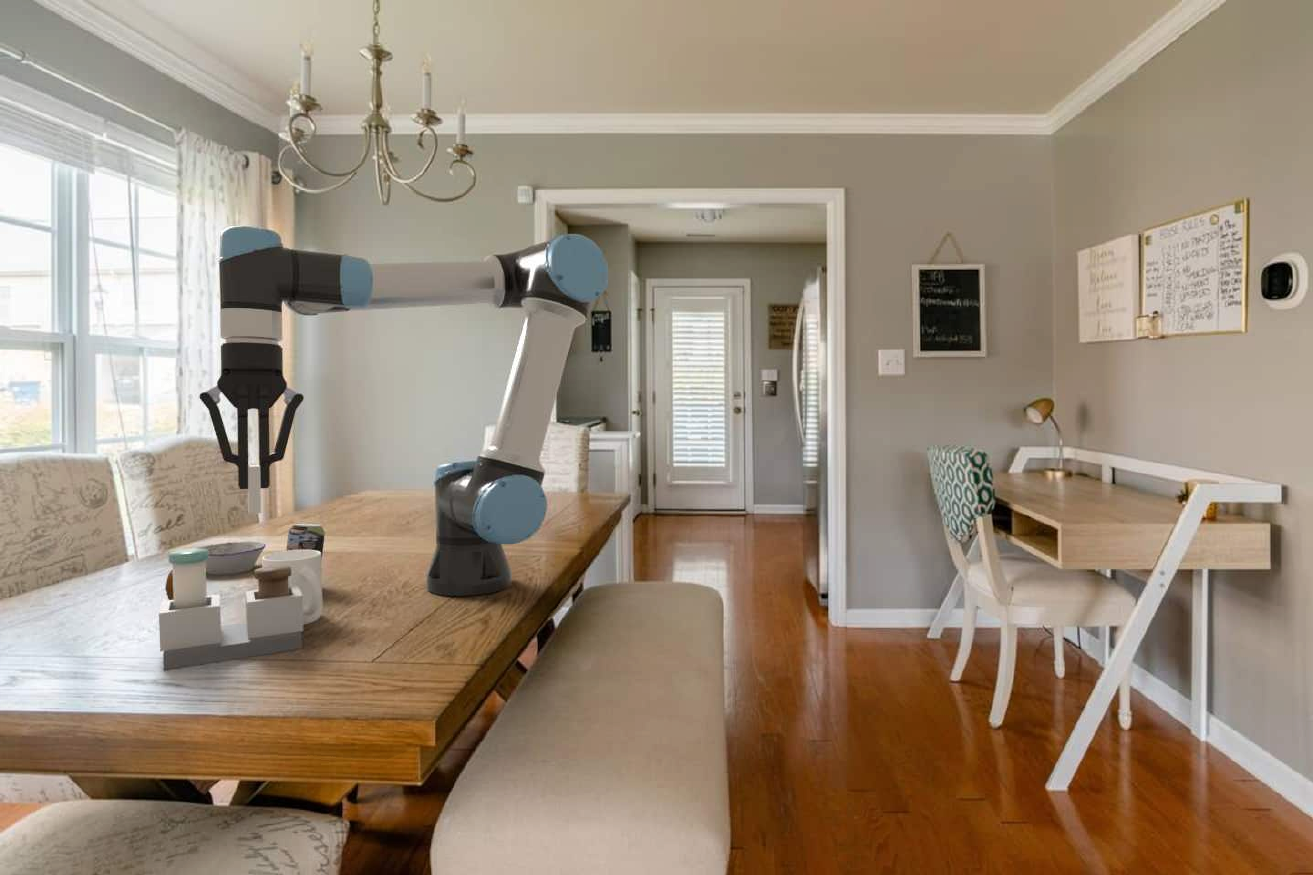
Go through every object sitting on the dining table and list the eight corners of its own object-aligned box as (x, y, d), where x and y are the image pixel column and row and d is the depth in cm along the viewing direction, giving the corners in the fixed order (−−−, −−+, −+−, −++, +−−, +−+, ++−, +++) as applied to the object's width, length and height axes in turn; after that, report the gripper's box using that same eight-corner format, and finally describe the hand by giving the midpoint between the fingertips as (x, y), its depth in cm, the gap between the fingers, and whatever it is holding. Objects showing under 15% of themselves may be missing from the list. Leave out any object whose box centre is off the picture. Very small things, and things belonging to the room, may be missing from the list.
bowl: (255, 575, 145) (254, 551, 145) (182, 579, 142) (181, 554, 142) (273, 561, 158) (273, 538, 157) (206, 564, 155) (205, 541, 154)
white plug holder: (298, 628, 112) (296, 582, 112) (304, 647, 103) (303, 598, 103) (164, 647, 104) (162, 598, 103) (160, 670, 95) (157, 616, 95)
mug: (344, 623, 115) (342, 557, 114) (290, 636, 108) (288, 567, 108) (307, 609, 122) (306, 547, 122) (254, 620, 116) (252, 555, 115)
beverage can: (274, 591, 133) (272, 525, 132) (307, 582, 140) (306, 519, 139) (300, 595, 131) (299, 527, 130) (333, 585, 138) (331, 521, 137)
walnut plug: (291, 617, 109) (289, 564, 109) (294, 626, 105) (292, 570, 105) (255, 622, 107) (254, 567, 106) (257, 631, 103) (255, 574, 102)
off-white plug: (210, 604, 104) (208, 547, 103) (210, 612, 100) (208, 553, 99) (171, 608, 101) (169, 551, 101) (169, 617, 97) (167, 557, 97)
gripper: (301, 346, 109) (303, 505, 110) (197, 342, 103) (200, 511, 104) (306, 343, 103) (308, 512, 104) (196, 338, 96) (199, 519, 97)
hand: (254, 512), depth 104 cm, fingers closed
